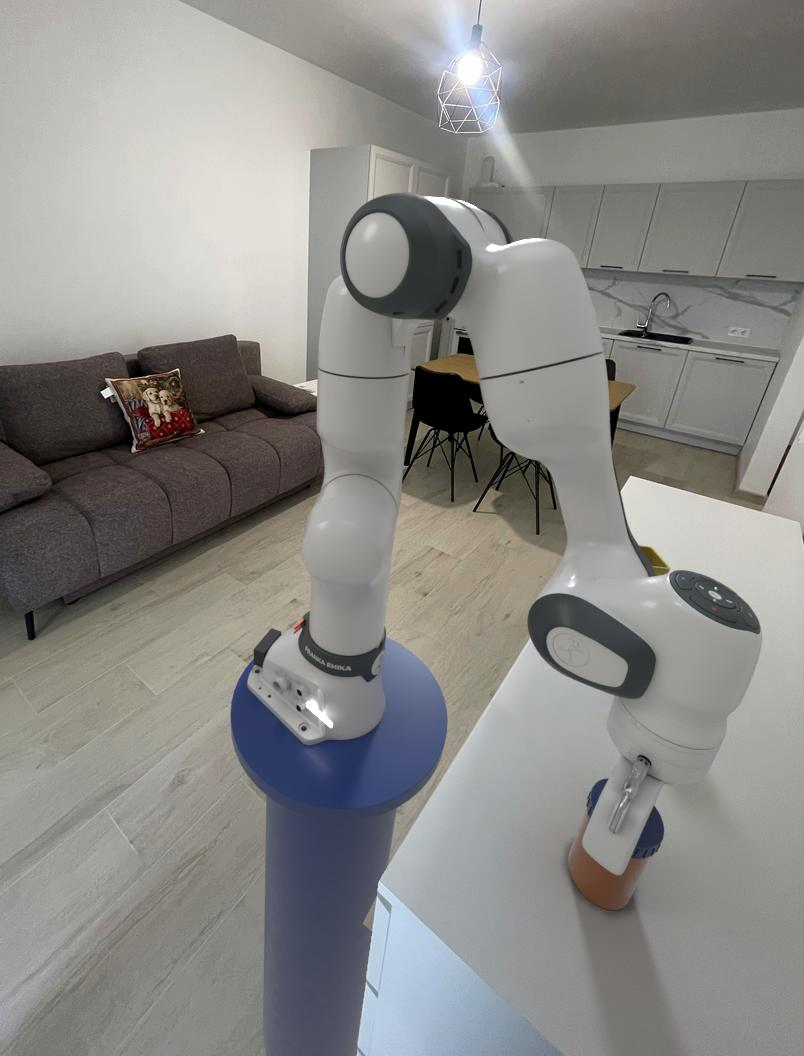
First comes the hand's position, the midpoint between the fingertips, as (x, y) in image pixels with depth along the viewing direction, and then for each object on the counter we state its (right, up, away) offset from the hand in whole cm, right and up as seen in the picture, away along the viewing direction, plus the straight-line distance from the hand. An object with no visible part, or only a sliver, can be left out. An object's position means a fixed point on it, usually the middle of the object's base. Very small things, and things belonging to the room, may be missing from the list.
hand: (622, 823), depth 53 cm
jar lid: (0, +2, -1) cm, 2 cm away
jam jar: (-1, -8, +3) cm, 9 cm away
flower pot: (+32, +10, +56) cm, 66 cm away
